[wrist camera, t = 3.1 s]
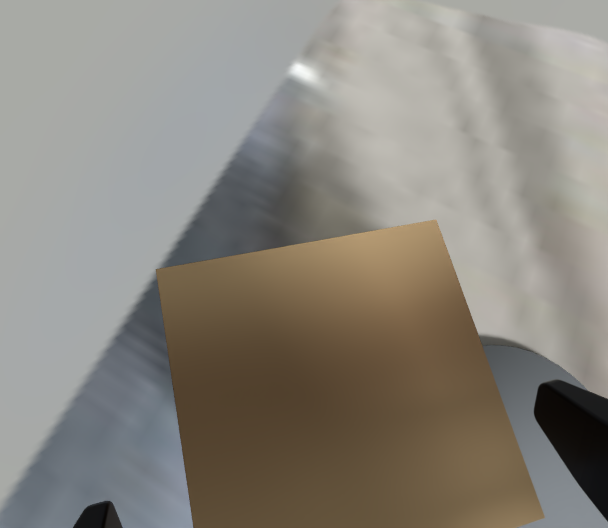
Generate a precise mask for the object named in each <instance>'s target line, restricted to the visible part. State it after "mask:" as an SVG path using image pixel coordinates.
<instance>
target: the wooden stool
mask: <svg viewBox="0 0 608 528" xmlns="http://www.w3.org/2000/svg"><path fill="white" fill-rule="evenodd" d="M156 274H157V281H158V288H159V294H160V301H161V308H162V315H163V322H164V329H165V335H166V342H167V349H168V356H169V363H170V370H171V376H172V383H173V390H174V397H175V404H176V411H177V418H178V424H179V431H180V438H181V445H182V452H183V459H184V465H185V472H186V479H187V486H188V493H189V500H190V506H191V513H192V520H193V527H194V528H517V527H520V526H523V525H526V524H529V523H531V522H534V521H537V520H540V519H543V518H545V516H544V513H543V511H542V508H541V505H540V502H539V500H538V497H537V494H536V491H535V489H534V486H533V483H532V480H531V478H530V475H529V472H528V469H527V467H526V464H525V461H524V459H523V456H522V453H521V450H520V448H519V445H518V442H517V439H516V437H515V434H514V431H513V428H512V426H511V423H510V420H509V417H508V415H507V412H506V409H505V407H504V404H503V401H502V398H501V396H500V393H499V390H498V387H497V385H496V382H495V379H494V376H493V374H492V371H491V368H490V365H489V363H488V360H487V357H486V355H485V352H484V349H483V346H482V344H481V341H480V338H479V335H478V333H477V330H476V327H475V324H474V322H473V319H472V316H471V313H470V311H469V308H468V305H467V303H466V300H465V297H464V294H463V292H462V289H461V286H460V283H459V281H458V278H457V275H456V272H455V270H454V267H453V264H452V261H451V259H450V256H449V253H448V251H447V248H446V245H445V242H444V240H443V237H442V234H441V231H440V229H439V226H438V223H437V220H431V221H425V222H420V223H414V224H409V225H403V226H397V227H392V228H386V229H380V230H375V231H369V232H363V233H358V234H352V235H346V236H341V237H335V238H330V239H324V240H318V241H313V242H307V243H301V244H296V245H290V246H284V247H279V248H273V249H267V250H262V251H256V252H251V253H245V254H239V255H234V256H228V257H222V258H217V259H211V260H205V261H200V262H194V263H188V264H183V265H177V266H172V267H166V268H160V269H156Z"/></svg>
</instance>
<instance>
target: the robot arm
mask: <svg viewBox="0 0 608 528" xmlns="http://www.w3.org/2000/svg"><path fill="white" fill-rule="evenodd" d="M534 416H535V419H536V421H537V423H538V425H539V426H540V428H541V429H542V431H543V432H544V434H545V435H546V437H547V438H548V440H549V441H550V443H551V444H552V446H553V447H554V449H555V450H556V452H557V453H558V455H559V456H560V458H561V459H562V461H563V462H564V464H565V465H566V467H567V469H568V470H569V472H570V473H571V475H572V476H573V477H574V479H575V480H576V482H577V483H578V485H579V486H580V487H581V489H582V490H583V491H584V493H585V494H586V495H587V496H588V498H589V499H590V500H591V502H592V503H593V504H594V505H595V507H596V508H597V509H598V510H599V512H600V513H601V514H602V515H603V517H604V518H605V519H606V520H607V522H608V399H607V398H604V397H602V396H599V395H597V394H594V393H592V392H589V391H587V390H585V389H582V388H580V387H577V386H575V385H572V384H570V383H567V382H565V381H562V380H559V379H554V380H550V381H546V382H543V383H541V384H540V385H539V386H538V390H537V395H536V400H535V405H534ZM73 528H123V527H122V525H121V522H120V520H119V517H118V515H117V512H116V510H115V507H114V505H113V503H112V502H111V501H103V502H100V503H96V504H92V505H90V506H88V507H86V508H85V510H84V511H83V512H82V514H81V516H80V517H79V519H78V520H77V522H76V524H75V525H74V527H73Z"/></svg>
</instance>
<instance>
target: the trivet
mask: <svg viewBox="0 0 608 528" xmlns="http://www.w3.org/2000/svg"><path fill="white" fill-rule="evenodd" d="M483 349H484V352H485V355H486V357H487V360H488V363H489V365H490V368H491V371H492V374H493V376H494V379H495V382H496V385H497V387H498V390H499V393H500V396H501V398H502V401H503V404H504V407H505V409H506V412H507V415H508V417H509V420H510V423H511V426H512V428H513V431H514V434H515V437H516V439H517V442H518V445H519V448H520V450H521V453H522V456H523V459H524V461H525V464H526V467H527V469H528V472H529V475H530V478H531V480H532V483H533V486H534V489H535V491H536V494H537V497H538V500H539V502H540V505H541V508H542V511H543V513H544V516H545V518H543V519H540V520H537V521H534V522H531V523H529V524H526V525H523V526H520V527H517V528H608V522H607V520H606V519H605V518H604V517H603V515H602V514H601V513H600V512H599V510H598V509H597V508H596V507H595V505H594V504H593V503H592V502H591V500H590V499H589V498H588V496H587V495H586V494H585V493H584V491H583V490H582V489H581V487H580V486H579V485H578V483H577V482H576V480H575V479H574V477H573V476H572V475H571V473H570V472H569V470H568V469H567V467H566V465H565V464H564V462H563V461H562V459H561V458H560V456H559V455H558V453H557V452H556V450H555V449H554V447H553V446H552V444H551V443H550V441H549V440H548V438H547V437H546V435H545V434H544V432H543V431H542V429H541V428H540V426H539V425H538V423H537V421H536V419H535V416H534V405H535V400H536V395H537V390H538V386H539V385H540V384H541V383H543V382H546V381H550V380H554V379H559V380H562V381H565V382H567V383H570V384H572V385H575V386H577V387H580V388H582V389H585V390H587V389H586V388H585V387H584V386H583V385H582V384H581V383H580V382H579V381H578V380H577V379H576V378H574V377H573V376H572V375H571V374H570V373H568V372H567V371H566V370H564V369H563V368H561V367H560V366H559V365H557V364H555V363H554V362H552V361H550V360H548V359H547V358H545V357H542V356H540V355H538V354H535V353H533V352H530V351H527V350H524V349H520V348H516V347H510V346H503V345H486V346H483ZM587 391H588V390H587Z"/></svg>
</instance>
